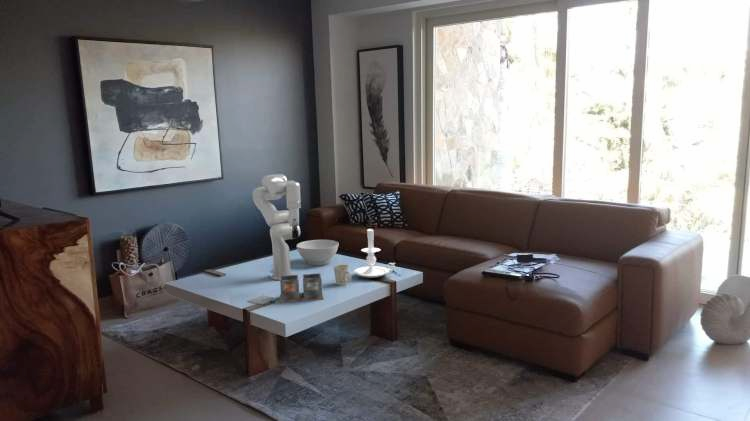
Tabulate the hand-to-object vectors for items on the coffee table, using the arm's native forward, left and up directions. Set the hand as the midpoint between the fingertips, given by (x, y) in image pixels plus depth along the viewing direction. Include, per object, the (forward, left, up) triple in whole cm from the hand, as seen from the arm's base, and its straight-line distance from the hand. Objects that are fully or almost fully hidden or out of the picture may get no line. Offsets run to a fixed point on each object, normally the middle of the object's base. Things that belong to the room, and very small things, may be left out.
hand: (295, 236), depth 322 cm
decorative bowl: (-25, +45, -28) cm, 59 cm away
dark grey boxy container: (+16, -14, -28) cm, 35 cm away
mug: (+20, +16, -28) cm, 38 cm away
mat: (+2, -28, -28) cm, 40 cm away
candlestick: (+25, +38, -28) cm, 54 cm away
